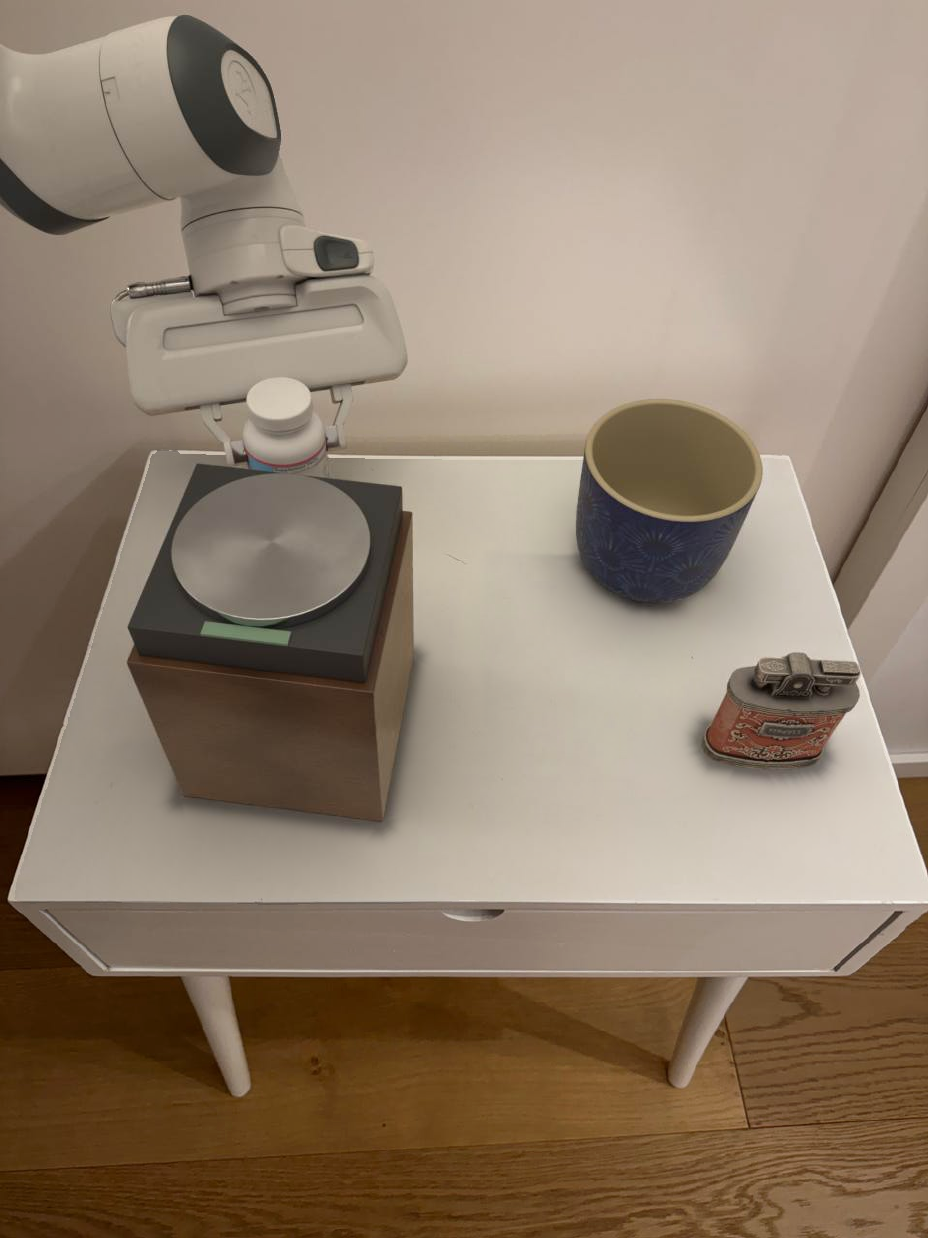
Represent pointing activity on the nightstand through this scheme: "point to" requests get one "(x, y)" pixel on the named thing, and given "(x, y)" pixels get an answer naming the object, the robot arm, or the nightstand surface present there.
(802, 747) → the lighter
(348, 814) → the walnut riser
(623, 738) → the nightstand surface
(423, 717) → the nightstand surface
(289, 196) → the robot arm
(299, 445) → the pill bottle
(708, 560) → the planter
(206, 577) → the kitchen scale
